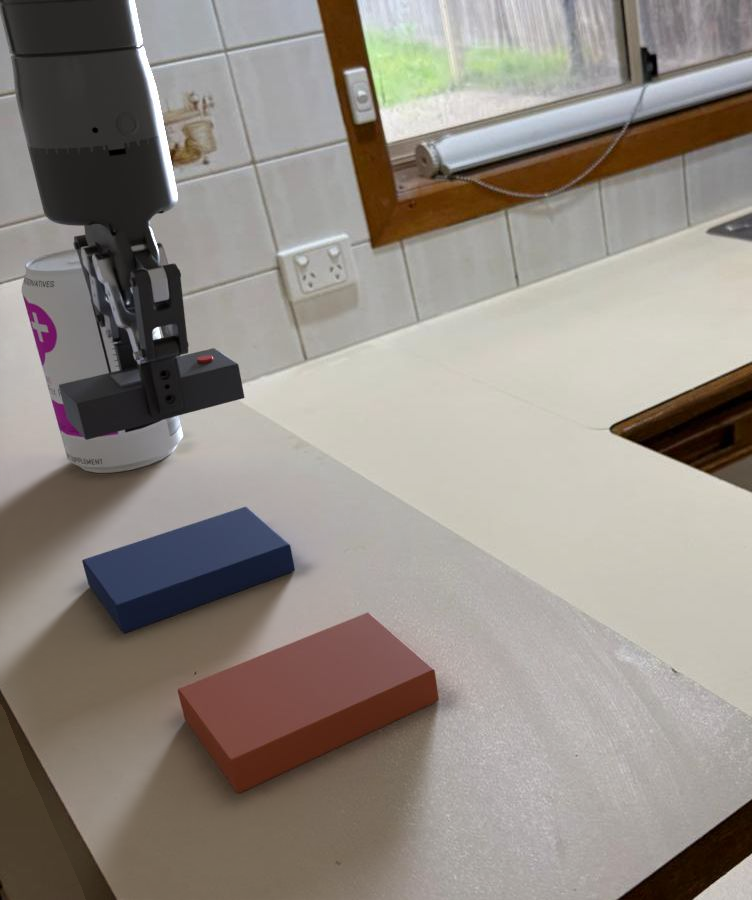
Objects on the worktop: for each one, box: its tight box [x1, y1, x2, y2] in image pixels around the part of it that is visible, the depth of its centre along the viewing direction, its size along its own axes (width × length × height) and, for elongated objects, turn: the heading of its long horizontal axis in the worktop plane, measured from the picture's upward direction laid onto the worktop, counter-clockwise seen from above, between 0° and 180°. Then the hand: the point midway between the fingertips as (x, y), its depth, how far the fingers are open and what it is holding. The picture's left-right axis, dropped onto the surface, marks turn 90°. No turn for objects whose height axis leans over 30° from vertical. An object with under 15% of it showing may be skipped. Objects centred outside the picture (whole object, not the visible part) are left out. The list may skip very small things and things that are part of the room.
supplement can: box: [21, 248, 184, 474], centre depth 83 cm, size 8×8×15 cm
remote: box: [59, 347, 245, 440], centre depth 73 cm, size 10×4×3 cm, turn 127°
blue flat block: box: [81, 506, 296, 634], centre depth 67 cm, size 7×10×2 cm
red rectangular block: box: [177, 612, 440, 794], centre depth 54 cm, size 7×10×2 cm
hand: (156, 404), depth 73 cm, fingers closed on remote, 4 cm apart
